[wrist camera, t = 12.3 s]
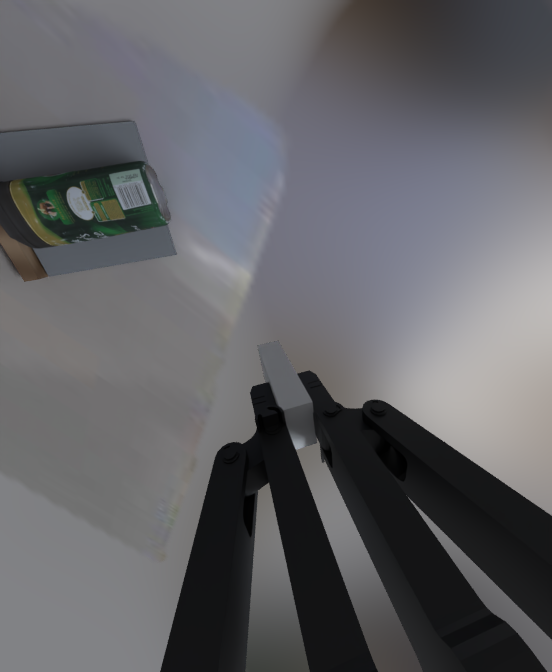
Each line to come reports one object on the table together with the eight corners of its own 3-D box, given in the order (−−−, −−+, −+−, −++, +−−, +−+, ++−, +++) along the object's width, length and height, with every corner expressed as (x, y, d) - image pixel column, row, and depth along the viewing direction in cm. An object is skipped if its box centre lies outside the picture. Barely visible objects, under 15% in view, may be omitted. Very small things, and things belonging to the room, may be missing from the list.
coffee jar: (176, 223, 40) (55, 245, 37) (156, 165, 36) (20, 185, 33) (167, 228, 31) (12, 257, 29) (140, 154, 27) (-43, 180, 25)
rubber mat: (-26, 137, 31) (-32, 135, 30) (135, 123, 34) (133, 121, 33) (51, 275, 39) (48, 276, 38) (176, 254, 42) (176, 254, 41)
